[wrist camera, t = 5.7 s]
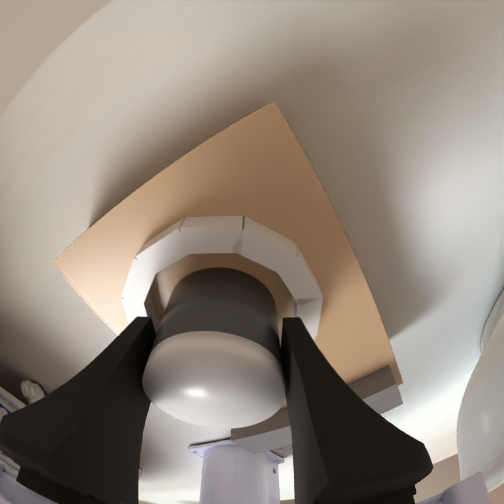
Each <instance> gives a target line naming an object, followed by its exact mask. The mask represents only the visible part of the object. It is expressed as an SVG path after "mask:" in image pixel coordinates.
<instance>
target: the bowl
mask: <svg viewBox="0 0 504 504" xmlns="http://www.w3.org/2000/svg"><path fill="white" fill-rule="evenodd" d="M480 349H481V356H480V358H479V360H478V362H477V364H476V366H475V368H474V371H473V373H472V375H471V377H470V380H469V382H468V384H467V387H466V390H465V393H464V396H463V399H462V402H461V406H460V410H459V415H458V422H457V449H458V457H459V465H460V473H461V481H462V480H464V479H466V478H468V477H470V476H472V475H474V474H476V473H477V472H481V473H482V476H483V479H484V482H485V485H486V488H487V491H488V493H489V492H490V491H492V490H494V489H495V488H497V487H498V486H500V485H502V484H503V483H504V289H503V291H502V293H501V294H500V296H499V298H498V300H497V302H496V303H495V305H494V307H493V309H492V311H491V313H490V315H489V317H488V320H487V322H486V324H485V327H484V330H483V334H482V338H481V346H480Z"/></svg>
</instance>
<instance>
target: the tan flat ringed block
mask: <svg viewBox="0 0 504 504" xmlns="http://www.w3.org/2000/svg"><path fill="white" fill-rule="evenodd" d="M53 264H54V265H55V267H56V268H57V269H58V270H59V272H60V273H61V274H62V275H63V277H64V278H65V279H66V280H67V281H68V283H69V284H70V285H71V286H72V287H73V288H74V290H75V291H76V292H77V293H78V294H79V295H80V296H81V298H82V299H83V300H84V301H85V302H86V303H87V304H88V305H89V306H90V308H91V309H92V310H93V311H94V312H95V313H96V314H97V315H98V316H99V317H100V318H101V319H102V320H103V321H104V322H105V323H106V324H107V325H108V326H109V327H110V328H111V330H112V331H113V332H114V333H116V334H117V335H119V334H120V333H121V332H122V331H123V330H124V329H125V328H126V327H127V326H128V325H129V324H130V323H131V322H132V321H133V320H134V319H135V318H136V317H137V316H142V317H151V318H152V321H153V325H154V328H155V331H156V334H157V332H158V329H159V326H160V323H161V320H162V317H163V315H164V312H165V309H166V306H167V304H168V301H169V298H170V296H171V293H172V291H173V289H174V288H175V286H176V285H177V284H178V283H179V282H180V281H181V280H182V279H183V278H184V277H186V276H187V275H189V274H191V273H193V272H195V271H198V270H201V269H205V268H213V267H224V268H232V269H236V270H240V271H242V272H245V273H247V274H249V275H252V276H253V277H255V278H256V279H258V280H259V281H260V282H262V283H263V284H264V285H265V286H266V287H267V288H268V290H269V291H270V293H271V294H272V296H273V298H274V301H275V304H276V312H277V321H278V330H279V339H280V348H281V336H282V321H283V318H285V317H300V318H301V319H302V321H303V323H304V325H305V327H306V328H307V330H308V332H309V334H310V335H311V337H312V338H313V340H314V342H315V343H316V345H317V346H318V348H319V349H320V351H321V352H322V353H323V355H324V356H325V358H326V359H327V360H328V362H329V363H330V364H331V366H332V367H333V368H334V369H335V371H336V372H337V373H338V374H339V376H340V377H341V378H342V379H343V380H344V381H345V383H346V384H347V385H348V386H349V387H350V388H351V389H352V390H353V391H354V392H355V393H356V394H357V395H358V396H359V397H360V398H361V399H362V400H363V401H364V402H365V403H366V404H368V405H369V406H370V407H371V408H372V409H374V410H375V411H376V412H377V413H378V414H382V413H384V412H386V411H388V410H390V409H393V408H395V407H397V406H399V405H401V404H403V402H402V399H401V396H400V393H399V390H398V387H397V386H398V385H400V384H402V383H403V382H402V378H401V375H400V372H399V369H398V366H397V363H396V360H395V357H394V354H393V351H392V348H391V345H390V342H389V339H388V336H387V333H386V331H385V328H384V325H383V322H382V320H381V317H380V314H379V312H378V309H377V306H376V304H375V301H374V299H373V296H372V294H371V291H370V289H369V286H368V284H367V281H366V279H365V277H364V274H363V272H362V269H361V267H360V265H359V262H358V260H357V258H356V255H355V253H354V251H353V249H352V246H351V244H350V242H349V240H348V238H347V235H346V233H345V231H344V229H343V227H342V225H341V223H340V220H339V218H338V216H337V214H336V212H335V210H334V208H333V206H332V204H331V202H330V200H329V198H328V196H327V194H326V192H325V190H324V188H323V186H322V184H321V182H320V180H319V178H318V176H317V174H316V173H315V171H314V169H313V167H312V165H311V163H310V161H309V160H308V158H307V156H306V154H305V152H304V150H303V149H302V147H301V145H300V143H299V142H298V140H297V138H296V136H295V134H294V133H293V131H292V129H291V128H290V126H289V124H288V122H287V121H286V119H285V117H284V116H283V114H282V112H281V111H280V109H279V107H278V106H277V104H276V103H275V101H274V102H272V103H269V104H267V105H265V106H263V107H261V108H260V109H258V110H256V111H254V112H252V113H251V114H249V115H247V116H245V117H244V118H242V119H240V120H239V121H237V122H235V123H233V124H232V125H230V126H228V127H227V128H225V129H223V130H222V131H220V132H219V133H217V134H215V135H214V136H212V137H211V138H209V139H207V140H206V141H204V142H203V143H201V144H200V145H198V146H197V147H195V148H194V149H192V150H191V151H189V152H188V153H186V154H185V155H183V156H182V157H180V158H179V159H177V160H176V161H174V162H173V163H172V164H170V165H169V166H167V167H166V168H164V169H163V170H162V171H160V172H159V173H157V174H156V175H155V176H153V177H152V178H151V179H149V180H148V181H147V182H145V183H144V184H143V185H141V186H140V187H139V188H137V189H136V190H135V191H133V192H132V193H131V194H130V195H128V196H127V197H126V198H125V199H123V200H122V201H121V202H120V203H118V204H117V205H116V206H115V207H113V208H112V209H111V210H110V211H108V212H107V213H106V214H105V215H104V216H102V217H101V218H100V219H99V220H98V221H97V222H95V223H94V224H93V225H92V226H91V227H90V228H89V229H87V230H86V231H85V232H84V233H83V234H82V235H81V236H80V237H79V238H78V239H77V240H75V241H74V242H73V243H72V244H71V245H70V246H69V247H68V248H67V249H66V250H65V251H64V252H63V253H62V254H61V255H60V256H59V257H58V258H57V259H56V260H55V261H54V262H53ZM231 441H232V442H233V443H235V444H237V445H238V446H240V447H242V448H244V449H245V450H247V451H249V452H251V453H253V454H257V453H262V452H267V451H271V450H275V449H279V448H283V447H287V446H291V445H292V434H291V427H290V421H289V415H288V410H287V404H286V399H285V400H284V402H283V405H282V406H281V408H280V409H279V410H278V411H277V412H276V413H275V414H274V415H273V416H271V417H270V418H268V419H266V420H264V421H262V422H260V423H257V424H254V425H251V426H247V427H241V428H232V429H231Z"/></svg>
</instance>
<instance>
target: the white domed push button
mask: <svg viewBox="0 0 504 504" xmlns="http://www.w3.org/2000/svg"><path fill="white" fill-rule="evenodd" d="M142 385H143V389H144V391H145V393H146V395H147V396H148V398H149V399H150V400H151V402H152V403H153V404H154V405H155V406H157V407H158V408H159V409H160V410H162V411H163V412H165V413H166V414H168V415H170V416H171V417H174V418H176V419H178V420H180V421H183V422H186V423H189V424H192V425H196V426H201V427H206V428H215V429H232V428H241V427H247V426H251V425H254V424H257V423H260V422H262V421H264V420H266V419H268V418H270V417H271V416H273V415H274V414H275V413H276V412H277V411H278V410H279V409H280V408H281V406H282V405H283V402H284V400H285V387H284V377H283V367H282V358H281V348H280V339H279V330H278V321H277V312H276V304H275V301H274V298H273V296H272V294H271V293H270V291H269V290H268V288H267V287H266V286H265V285H264V284H263V283H262V282H260V281H259V280H258V279H256V278H255V277H253V276H252V275H249V274H247V273H245V272H242V271H240V270H236V269H232V268H224V267H213V268H205V269H201V270H198V271H195V272H193V273H191V274H189V275H187V276H186V277H184V278H183V279H182V280H181V281H180V282H179V283H178V284H177V285H176V286H175V288H174V289H173V291H172V293H171V296H170V298H169V301H168V304H167V306H166V309H165V312H164V315H163V317H162V320H161V323H160V326H159V329H158V332H157V334H156V337H155V340H154V343H153V346H152V349H151V352H150V355H149V358H148V361H147V364H146V367H145V370H144V373H143V378H142Z"/></svg>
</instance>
